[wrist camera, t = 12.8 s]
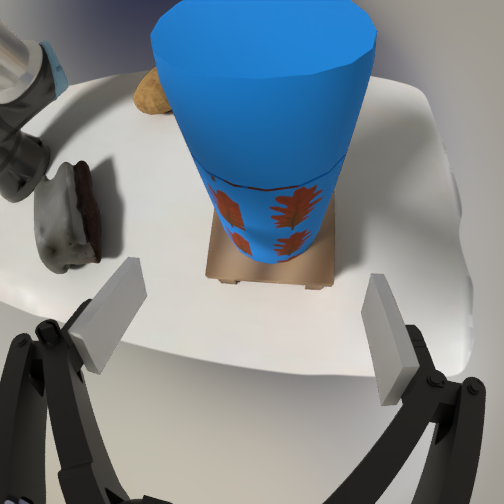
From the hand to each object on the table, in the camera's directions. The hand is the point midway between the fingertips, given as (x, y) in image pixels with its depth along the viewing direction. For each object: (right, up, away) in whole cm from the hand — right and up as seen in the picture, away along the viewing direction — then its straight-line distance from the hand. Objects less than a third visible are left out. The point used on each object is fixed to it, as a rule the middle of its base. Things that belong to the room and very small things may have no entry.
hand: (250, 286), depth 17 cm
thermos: (+2, +6, +18) cm, 19 cm away
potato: (-15, +31, +34) cm, 49 cm away
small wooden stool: (+3, +4, +24) cm, 25 cm away
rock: (-29, +7, +28) cm, 41 cm away
